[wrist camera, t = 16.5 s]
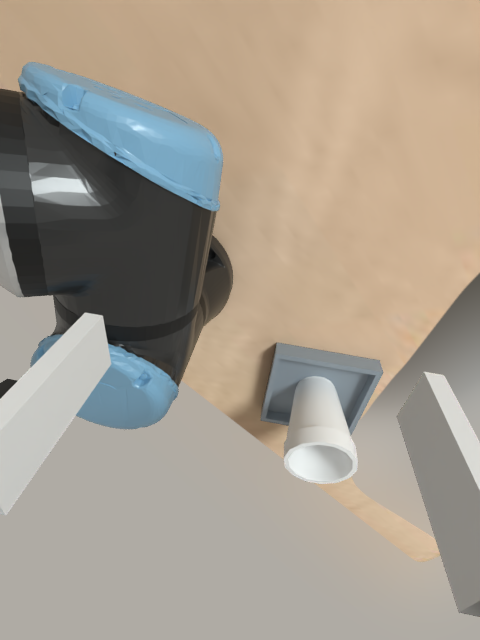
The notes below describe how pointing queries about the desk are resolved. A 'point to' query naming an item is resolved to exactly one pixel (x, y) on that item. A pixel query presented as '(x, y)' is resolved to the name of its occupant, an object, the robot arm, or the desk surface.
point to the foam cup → (319, 435)
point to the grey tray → (342, 370)
